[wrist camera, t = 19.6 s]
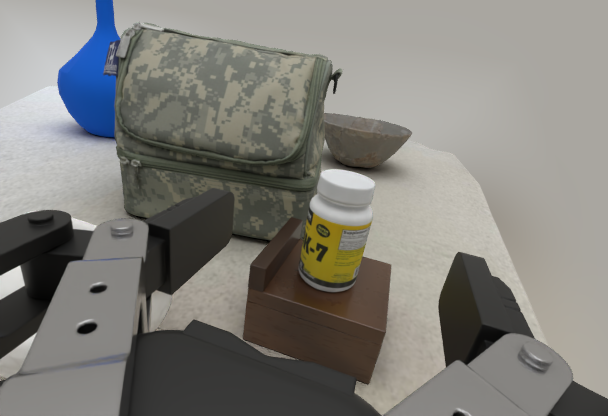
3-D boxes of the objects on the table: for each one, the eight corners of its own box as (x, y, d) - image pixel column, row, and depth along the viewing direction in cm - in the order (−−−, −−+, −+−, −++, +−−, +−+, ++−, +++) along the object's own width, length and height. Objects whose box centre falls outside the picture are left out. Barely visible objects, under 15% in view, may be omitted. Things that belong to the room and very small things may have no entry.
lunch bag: (92, 215, 39) (67, 5, 30) (169, 173, 56) (167, 29, 47) (305, 259, 37) (343, 49, 29) (319, 202, 54) (346, 58, 45)
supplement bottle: (288, 262, 27) (303, 166, 24) (336, 256, 30) (356, 166, 26) (314, 299, 24) (336, 191, 20) (367, 289, 26) (395, 189, 22)
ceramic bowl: (370, 152, 94) (379, 117, 90) (420, 181, 75) (433, 138, 71) (298, 147, 87) (303, 109, 83) (332, 178, 67) (341, 129, 63)
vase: (76, 120, 78) (57, -30, 66) (160, 127, 84) (157, -8, 73) (52, 139, 62) (22, -52, 50) (158, 145, 69) (153, -22, 57)
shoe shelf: (378, 307, 32) (397, 245, 29) (368, 384, 24) (393, 308, 21) (281, 277, 34) (290, 216, 31) (242, 339, 26) (250, 264, 23)
